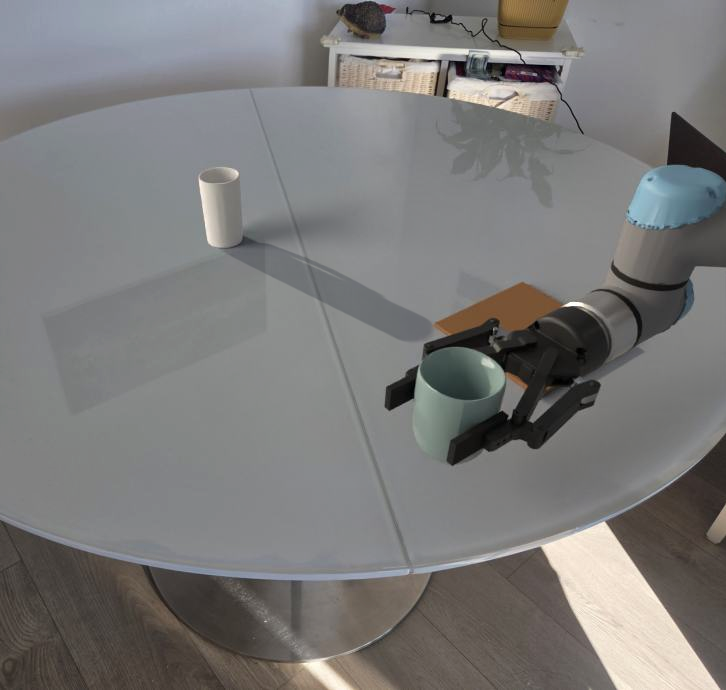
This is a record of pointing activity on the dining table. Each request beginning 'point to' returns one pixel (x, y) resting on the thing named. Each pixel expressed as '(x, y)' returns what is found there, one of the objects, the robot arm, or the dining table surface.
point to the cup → (454, 397)
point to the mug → (221, 206)
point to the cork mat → (503, 314)
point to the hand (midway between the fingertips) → (418, 424)
